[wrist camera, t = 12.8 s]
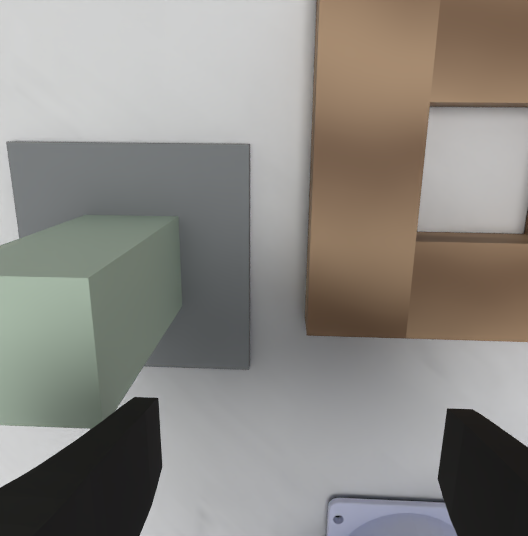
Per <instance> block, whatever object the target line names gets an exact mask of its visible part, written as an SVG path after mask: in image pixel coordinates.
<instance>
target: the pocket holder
mask: <svg viewBox="0 0 528 536" xmlns="http://www.w3.org/2000/svg"><path fill="white" fill-rule="evenodd" d="M430 107H528V0H317V3H316V30H315V57H314V84H313V112H312V139H311V166H310V193H309V220H308V247H307V274H306V301H305V323H306V333H307V335H310V336H343V337H377V338H411V339H444V340H478V341H512V342H528V213H527V219H526V225H525V231H524V234H503V233H451V232H417V225H418V215H419V205H420V196H421V186H422V176H423V166H424V156H425V147H426V137H427V127H428V117H429V108H430Z"/></svg>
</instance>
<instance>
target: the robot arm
mask: <svg viewBox="0 0 528 536" xmlns="http://www.w3.org/2000/svg"><path fill="white" fill-rule="evenodd" d="M161 470H162V454H161V437H160V420H159V403H158V398H144V397H134V398H133V399H131V400H130V401H128V402H127V403H125V404H124V405H123V406H121V407H120V408H119V409H117V410H116V411H115V412H113V413H112V414H111V415H109V416H108V417H107V418H106V419H104V420H103V421H102V422H100V423H99V424H98V425H96V426H95V427H93V428H92V429H91V430H89V431H88V432H87V433H85V434H84V435H83V436H81V437H80V438H79V439H77V440H76V441H74V442H73V443H71V444H70V445H68V446H67V447H65V448H64V449H62V450H61V451H59V452H58V453H56V454H55V455H53V456H52V457H51V458H49V459H48V460H46V461H45V462H43V463H42V464H40V465H38V466H37V467H35V468H34V469H32V470H30V471H29V472H27V473H25V474H24V475H22V476H20V477H19V478H17V479H15V480H13V481H11V482H10V483H8V484H6V485H4V486H3V487H1V488H0V536H139V535H140V533H141V531H142V528H143V526H144V523H145V521H146V518H147V516H148V513H149V511H150V508H151V506H152V502H153V499H154V495H155V492H156V488H157V485H158V481H159V477H160V473H161ZM438 481H439V484H440V488H441V491H442V495H443V498H444V501H445V503H443V502H421V501H399V500H377V499H355V498H334V499H332V500H331V501H330V502H329V504H328V517H327V534H326V536H528V447H526V446H525V445H524V444H522V443H521V442H519V441H518V440H517V439H515V438H514V437H512V436H511V435H510V434H508V433H507V432H505V431H504V430H503V429H501V428H500V427H498V426H497V425H495V424H494V423H493V422H491V421H490V420H488V419H487V418H485V417H484V416H482V415H481V414H479V413H478V412H476V411H474V410H473V409H447V414H446V421H445V429H444V436H443V444H442V451H441V459H440V466H439V473H438ZM337 515H340V516H341V517H338V518H336V517H335V516H337Z"/></svg>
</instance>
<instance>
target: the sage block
mask: <svg viewBox="0 0 528 536" xmlns="http://www.w3.org/2000/svg"><path fill="white" fill-rule="evenodd" d="M181 307H182V287H181V264H180V240H179V217H178V216H125V215H84V216H81V217H78V218H75V219H73V220H70V221H67V222H64V223H61V224H59V225H56V226H53V227H50V228H48V229H45V230H42V231H39V232H37V233H34V234H31V235H28V236H25V237H23V238H20V239H17V240H14V241H12V242H9V243H6V244H3V245H1V246H0V425H10V426H37V427H63V428H90V429H92V428H93V427H95V426H96V425H98V424H99V423H100V422H102V421H103V420H104V419H106V418H107V417H108V416H109V415H111V414H112V413H113V412H115V410H116V409H117V407H118V405H119V404H120V402H121V401H122V399H123V398H124V396H125V394H126V393H127V391H128V390H129V388H130V387H131V385H132V384H133V382H134V380H135V379H136V377H137V376H138V374H139V373H140V371H141V369H142V368H143V366H144V365H145V363H146V362H147V360H148V359H149V357H150V355H151V354H152V352H153V351H154V349H155V348H156V346H157V345H158V343H159V341H160V340H161V338H162V337H163V335H164V334H165V332H166V330H167V329H168V327H169V326H170V324H171V323H172V321H173V320H174V318H175V316H176V315H177V313H178V312H179V310H180V309H181Z"/></svg>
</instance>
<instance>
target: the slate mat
mask: <svg viewBox="0 0 528 536" xmlns="http://www.w3.org/2000/svg"><path fill="white" fill-rule="evenodd" d="M6 144H7V151H8V159H9V166H10V173H11V181H12V188H13V195H14V202H15V210H16V217H17V224H18V232H19V239H20V238H23V237H25V236H28V235H31V234H34V233H37V232H39V231H42V230H45V229H48V228H50V227H53V226H56V225H59V224H61V223H64V222H67V221H70V220H73V219H75V218H78V217H81V216H84V215H125V216H178V217H179V240H180V264H181V287H182V307H181V309H180V310H179V312H178V313H177V315H176V316H175V318H174V320H173V321H172V323H171V324H170V326H169V327H168V329H167V330H166V332H165V334H164V335H163V337H162V338H161V340H160V341H159V343H158V345H157V346H156V348H155V349H154V351H153V352H152V354H151V355H150V357H149V359H148V360H147V362H146V363H145V365H144V366H152V367H182V368H212V369H242V370H249V366H250V144H186V143H94V142H6Z"/></svg>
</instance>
